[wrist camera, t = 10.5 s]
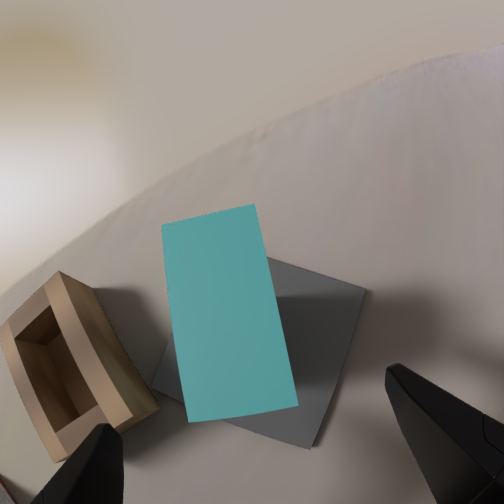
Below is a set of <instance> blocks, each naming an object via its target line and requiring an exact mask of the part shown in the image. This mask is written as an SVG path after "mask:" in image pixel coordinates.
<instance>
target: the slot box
mask: <svg viewBox="0 0 504 504" xmlns="http://www.w3.org/2000/svg"><path fill="white" fill-rule="evenodd" d="M0 343H1V346H2V349H3V352H4V355H5V358H6V361H7V364H8V367H9V370H10V372H11V375H12V377H13V380H14V383H15V385H16V388H17V390H18V392H19V395H20V397H21V399H22V402H23V404H24V406H25V408H26V411H27V413H28V415H29V417H30V419H31V421H32V423H33V425H34V427H35V429H36V431H37V433H38V435H39V437H40V439H41V441H42V442H43V444H44V446H45V448H46V450H47V451H48V453H49V455H50V457H51V458H52V460H53V462H54V463H58V462H61V461H65V460H67V459H68V458H69V457H70V456H71V454H72V453H73V452H74V451H75V450H76V449H77V447H78V446H79V445H80V444H81V443H82V441H83V440H84V439H85V438H86V437H87V436H88V434H89V433H90V432H91V431H92V430H93V429H94V427H95V426H96V425H97V424H99V423H109V424H111V425H112V426H113V428H114V429H115V430H116V431H117V432H118V433H119V434H121V433H123V432H125V431H126V430H128V429H130V428H131V427H133V426H134V425H136V424H138V423H139V422H141V421H142V420H144V419H145V418H147V417H148V416H150V415H152V414H153V413H155V412H156V411H158V410H159V409H161V406H160V405H159V403H158V402H157V400H156V399H155V397H154V396H153V394H152V393H151V391H150V390H149V388H148V387H147V385H146V384H145V382H144V381H143V379H142V377H141V376H140V374H139V373H138V371H137V369H136V368H135V366H134V365H133V363H132V361H131V360H130V358H129V356H128V355H127V353H126V351H125V349H124V348H123V346H122V344H121V343H120V341H119V339H118V337H117V335H116V334H115V332H114V330H113V328H112V326H111V324H110V323H109V321H108V319H107V317H106V315H105V313H104V311H103V309H102V307H101V305H100V303H99V301H98V299H97V297H96V295H95V293H94V291H93V289H92V288H91V287H89V286H87V285H85V284H83V283H81V282H79V281H77V280H76V279H74V278H72V277H70V276H68V275H66V274H64V273H62V272H60V271H58V272H56V273H55V274H54V275H53V276H52V277H51V278H50V279H49V280H48V281H47V282H45V283H44V284H43V285H42V286H41V287H40V288H39V289H38V290H37V291H36V292H35V293H34V294H33V295H32V296H31V297H30V298H29V299H28V300H27V301H26V302H24V303H23V304H22V305H21V306H20V307H19V308H18V309H17V310H16V311H15V312H14V313H13V314H12V315H11V316H10V317H9V319H8V320H7V321H6V322H5V323H4V324H3V325H2V326H1V327H0Z"/></svg>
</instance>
